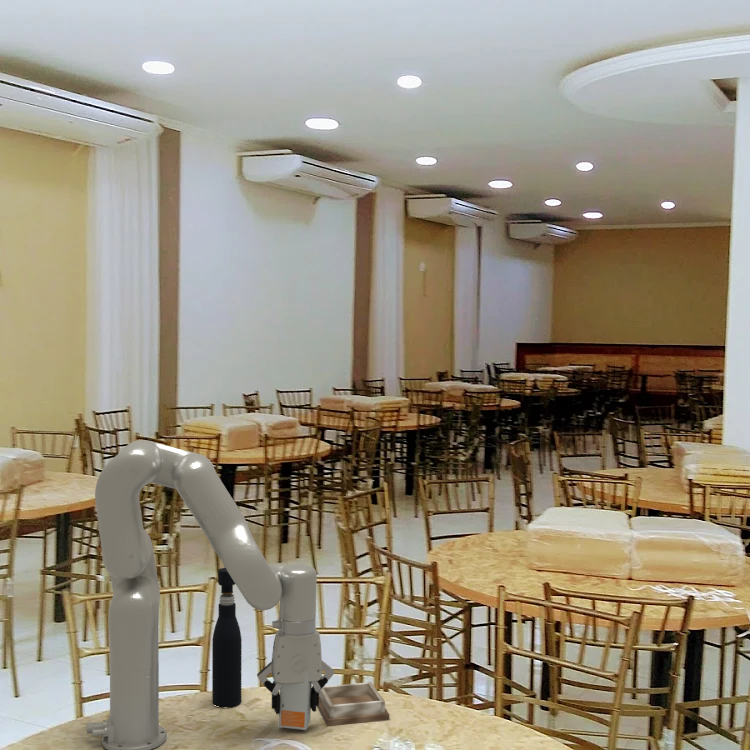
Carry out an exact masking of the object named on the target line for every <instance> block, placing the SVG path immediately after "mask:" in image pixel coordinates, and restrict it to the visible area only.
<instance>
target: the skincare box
mask: <svg viewBox="0 0 750 750" xmlns="http://www.w3.org/2000/svg"><path fill="white" fill-rule="evenodd" d="M312 686H313V685H312V683H311V682H310V683H309V682H308V673H306V675H305V682H303V683H295V684H282V686H281V688H280V690H279V694H280V713H279V714H278V728H279V729H280V728H286V729H293V730H303V731H307V729H308V727H309V725H310V723H311V715H312V714H311V713H312V709H311V688H312Z"/></svg>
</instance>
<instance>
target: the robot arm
mask: <svg viewBox="0 0 750 750" xmlns="http://www.w3.org/2000/svg"><path fill="white" fill-rule="evenodd" d="M148 484H154V485H158V486H159V485H160V486H162V487H166V488H171V489H175V490H176V492H177V493H178V495H179V496H180V498H181V499H182V501H183V503H184V504H185V506H186V507H187V509H188V510H189V511H190V514H191V515H192V516H193V518H194V519H195V521H196V522H197V524H198V526H199V527H200V529H201V531H202V532H203V534H204V536H205V537H206V539H207V540H208V542H209V544H210V547H212V550H214V552H215V553H216V555H217V556H218V558H219V559H220V561H221V562H222V564H223V565H224V568H226V569H227V571H228V573H229V574H230V576H231V578H232V579H233V581H234V582H235V585H236V587H237V589H238V590H239V592H240V593H241V595H242V597H243V598H244V599H245V601H246V603H247V604H248V605H249V606H251V607H252V608H254V609H255V610H257V611H269V610H271V609H273V608H274V607H276V606H277V605H278V604H279V616H278V618H277V620H275V621H274V620H273V621H272V623H271V626H272V627H271V628H273V629H278V630H277V631H276V632H275V636H274V639H273V647H272V653H271V661H270V662H269V663H268V664H266V666H265V667H264V668H262V669H261V670H260V671H258V673H257V674H256V676H257V678H258V680H259V681H260V682H261V684H263V686H264V687H265V688H266V689H267V690H268V691H269V692H270V693H271V709H272V710H274V712H275V715H279V713H280V688H281V686H282V684H295V683H303V682H305V675H306V673H308V682H309V683H310V682H311V683H312V687H311V712H314V713H316V712H317V706H319V692H320V691H321V689H322V688H323V687H324V686H327V684H328V683H329V680H331V678H332V677H333V676H334V675H335V671H334V669H333V668H332V667H331V666H330V665H328V664H327V663H326V662H324V661H323V659H322V658H323V657H322V656H323V655H322V643H321V636H320V632H319V631H318V630H317V629H316V623H317V621H316V617H317V616H316V614H317V584H318V582H317V581H318V580H317V579H318V577H317V572H316V568H314V567H313V566H311V565H308V564H301V563H300V564H297V563H296V564H289V565H281V564H273V563H268V562H267V560H266V558H265V556H264V555H263V553H262V552H261V550H260V548H259V546H258V544H257V542H256V541H255V539H254V537H253V534H252V532H251V530H250V527H249V525H248V522H247V521H246V518H245V516H244V513H242V511H241V510H240V508H239V507H238V505H237V504H236V502H235V500H234V499H233V497H232V496H231V494H230V493H229V491H228V490H227V488H226V486H225V485H224V483H223V482H222V479H221V478H220V477H219V474H218V473H217V471H216V470H215V467H214V464H213V463H212V461H211V460H210V459H209V458H208V457H207V456H205V455H203V454H200V453H197V452H193V451H190V450H189V451H188V450H184V449H180V448H177V447H173V446H170V445H166V444H163V443H158V442H155V441H152V440H145V439H138V440H134V441H132V442H130V443H128V444H127V445H125V447H124V448H123V449H122V450H121V451H120V452H119V453H118V454H116V455H115V456H114V457H113V458H112V459H110V460H109V462H107V464H106V465H104V467H103V468H102V470H101V471H100V474H99V476H98V478H97V481H96V484H95V490H94V491H95V492H94V499H95V500H94V501H95V508H96V509H95V510H96V517H97V526H98V527H97V528H98V532H99V539H100V540H99V541H100V547H101V559H102V563H103V566H104V567H105V570H106V572H107V573H109V577H110V582H111V589H112V597H111V601H110V603H109V609H108V616H107V617H108V638H109V640H108V641H109V715H108V719H106V720H104V719H103V721H102V722H89V723H88V722H87V723H86V734H92V737H101V736H102V738H101V744H102V746H103V748H105V749H106V750H153V749H156V748H158V747H160V746H161V745H162V744H164V742H165V741H167V740H166V739H167V734H168V733H167V730H166V728H165V727H163V726H161V725H160V722H159V720H160V719H159V717H160V715H159V714H160V712H159V710H160V709H159V708H160V707H159V706H160V703H159V702H160V701H159V699H160V698H159V697H160V694H159V693H160V691H159V690H160V689H159V688H160V687H159V685H160V681H159V679H160V675H159V673H160V672H159V671H160V669H159V668H160V664H159V662H160V661H159V659H160V658H159V653H160V652H159V651H160V649H159V623H160V622H159V621H160V619H159V618H160V617H159V616H160V603H161V590H160V586H159V585H160V583H159V578H158V573H157V564H156V559H155V553H154V546H153V543H152V539H151V537H150V535H149V533H148V532H147V531H146V529H144V525H143V523H144V522H143V518H142V517H143V515H142V509H141V508H142V507H141V505H140V493H141V491H142V489H144V487H145V486H147V485H148ZM323 671H324V674H323ZM269 674H271V676H272V680H273V681H270V679H269V678H267V676H268V675H269Z"/></svg>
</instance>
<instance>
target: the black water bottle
mask: <svg viewBox="0 0 750 750" xmlns="http://www.w3.org/2000/svg"><path fill="white" fill-rule="evenodd" d="M217 571H218V575H217V577H218V581H217V583H218V585H219V586H221V587H220V588H221V590H220V591H221V592H220V593H221V595H219V603H218V616H217V620H216V622H215V626H214V629H213V634H212V640H211V641H212V645H211V646H212V649H211V651H212V661H211V663H212V664H211V665H212V674H211V676H212V677H211V678H212V682H211V684H212V689H211V690H212V691H211V692H212V694H211V695H212V696H211V697H212V699H211V700H212V701H211V703H212V705H213V704H214V705H216V706H219V707H231V708H235V707H237V705H238V706H239V705H241V704H242V652H243V651H242V647H243V646H242V639H243V638H242V635H241V628H240V624H239V621H238V619H237V616H236V614H237V613H236V611H237V607H236V603H235V599H236V598H235V595H234V594H233V593H234V586H235V585H236V584H235V582H234V581H233V579H232V578H231V576H230V574H229V573H228V571H227V569H226V568H225V567H221V568H219V569H218V570H217ZM214 705H213V706H214ZM216 706H215V707H216ZM234 706H235V707H234ZM219 707H218V708H219Z"/></svg>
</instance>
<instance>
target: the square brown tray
mask: <svg viewBox="0 0 750 750" xmlns="http://www.w3.org/2000/svg"><path fill="white" fill-rule="evenodd" d="M316 708H317V709H318V710H319V714H320V716H321V717H322V719H323V721H324V723H325V724H326V726H327V727H328V726H331V727H332V726H341V725H350V724H360V723H369V722H370V723H371V722H380V721H381V722H382V721H383V722H384V721H390V713H389V712H388V710H387V709H386V701H385V700H384V698H383V697H382V696H381V694H380V693H379V691H378V690H377V688H376V687H375V685H374V684H373V683H372V681H370V682H359V683H356V682H355V683H346V684H335V685H325V686H324V687H323V688H322V689H321V691H320V692H319V706H316Z"/></svg>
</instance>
